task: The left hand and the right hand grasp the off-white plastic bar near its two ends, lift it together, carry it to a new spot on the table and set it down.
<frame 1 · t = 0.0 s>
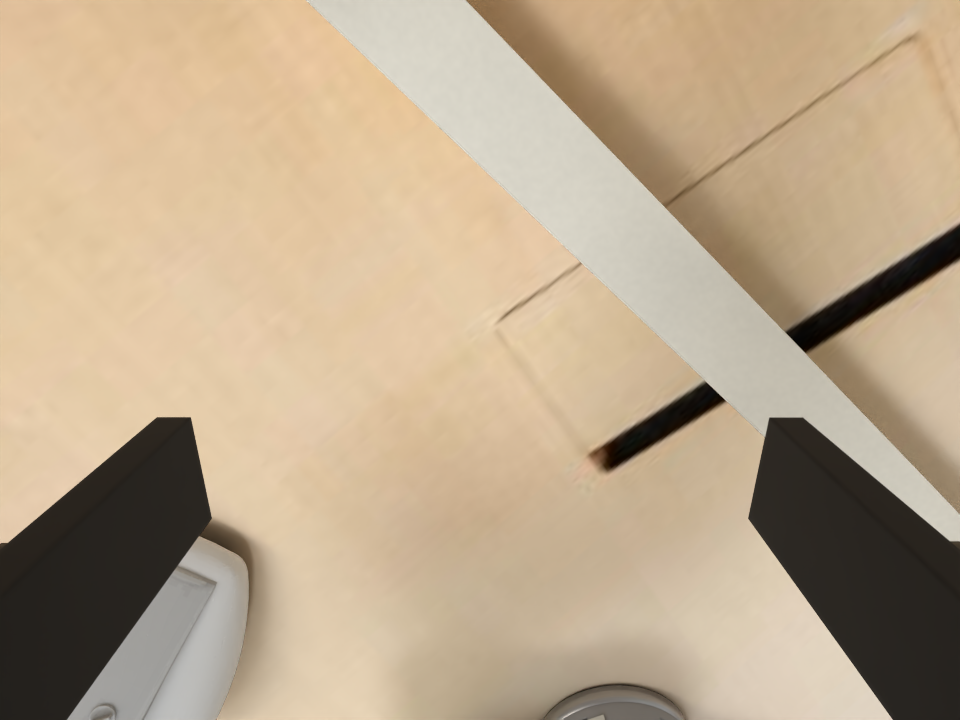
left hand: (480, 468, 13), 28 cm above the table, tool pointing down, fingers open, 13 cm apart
bar: (694, 315, 41), on the table
projector: (166, 616, 51), on the table
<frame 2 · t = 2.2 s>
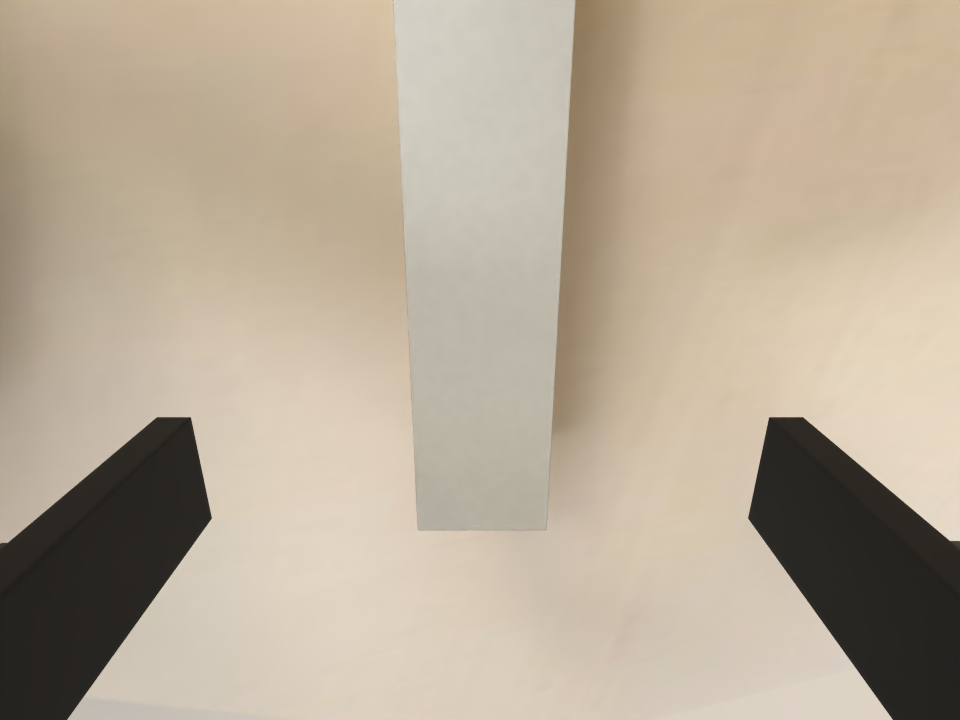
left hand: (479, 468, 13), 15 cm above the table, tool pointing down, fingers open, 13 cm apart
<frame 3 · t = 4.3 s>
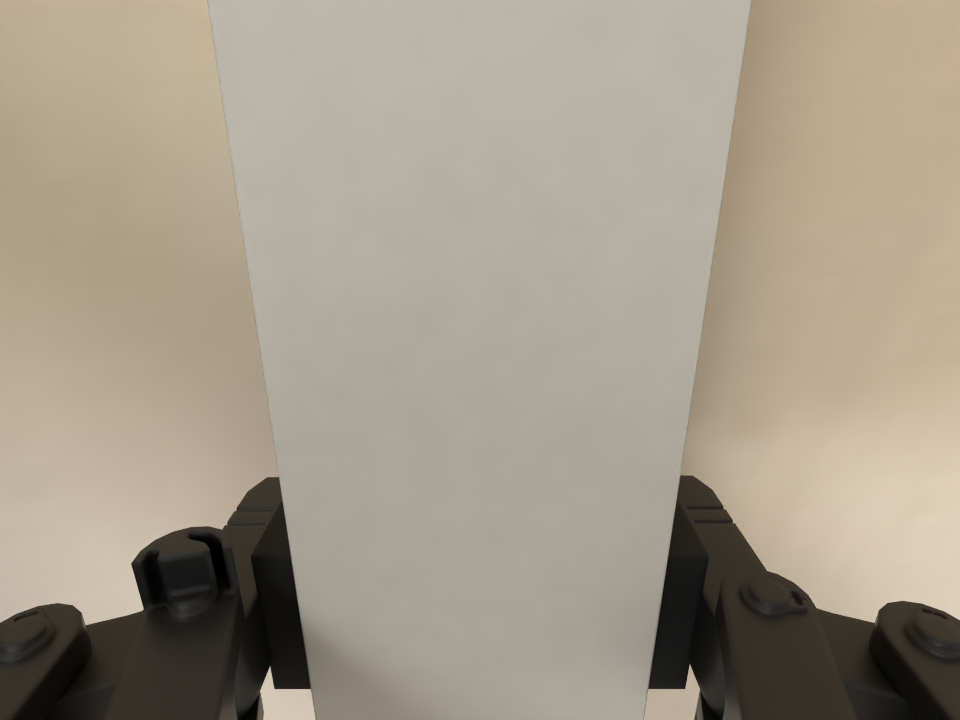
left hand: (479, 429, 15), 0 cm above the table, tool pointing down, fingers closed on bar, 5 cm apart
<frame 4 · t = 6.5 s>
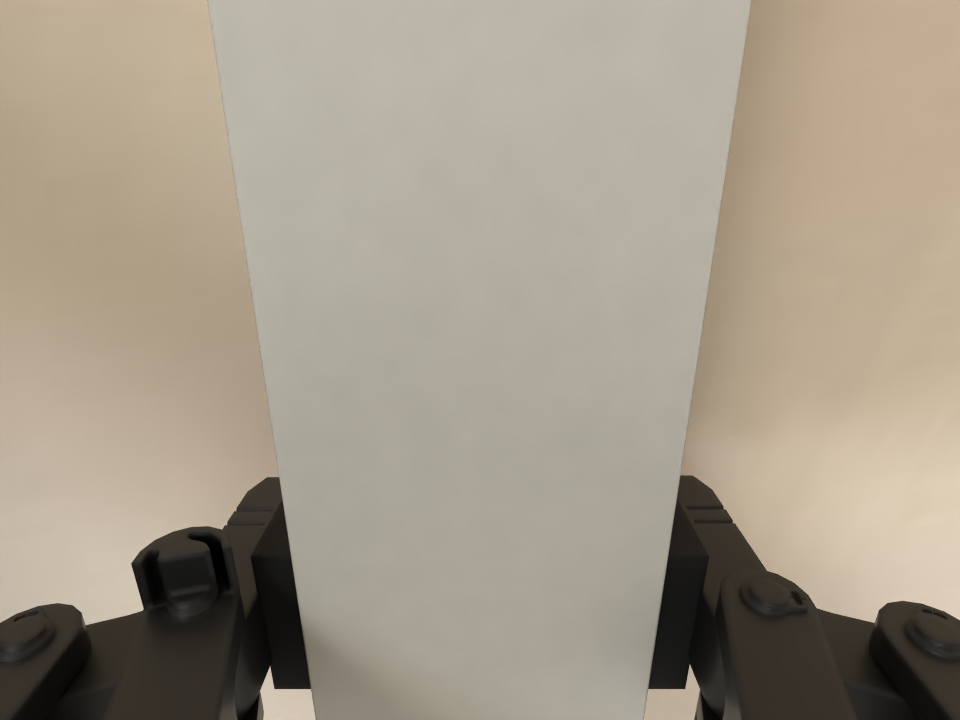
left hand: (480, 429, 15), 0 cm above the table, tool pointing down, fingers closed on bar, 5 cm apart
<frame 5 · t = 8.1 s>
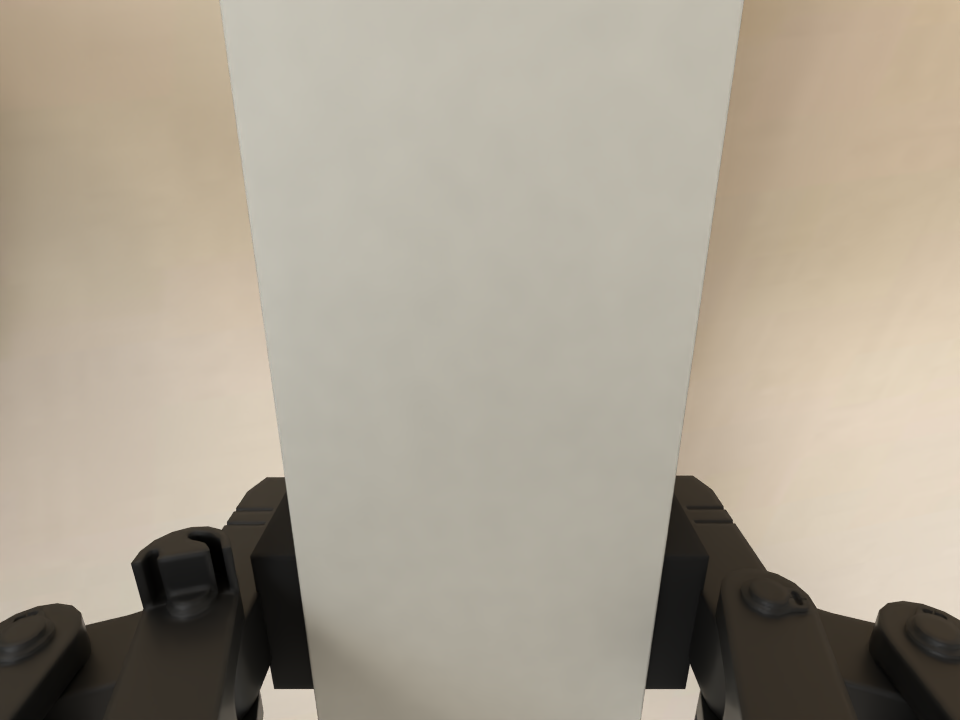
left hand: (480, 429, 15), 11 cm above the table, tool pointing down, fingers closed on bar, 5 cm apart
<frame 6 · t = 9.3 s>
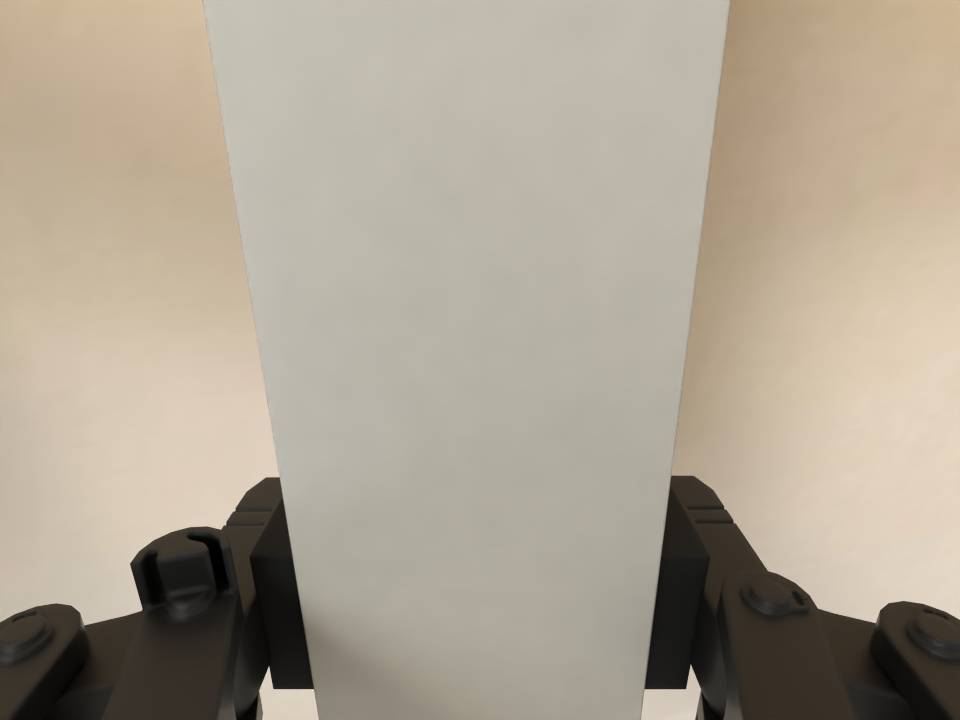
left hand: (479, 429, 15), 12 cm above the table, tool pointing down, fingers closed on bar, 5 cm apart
when the left hand's fingers open (2 cm above the table, at t = 12.2 s): bar stays where it is, on the table.
when the right hand's fingers open (4 cm above the table, at t = 12.3 s): bar stays where it is, on the table.
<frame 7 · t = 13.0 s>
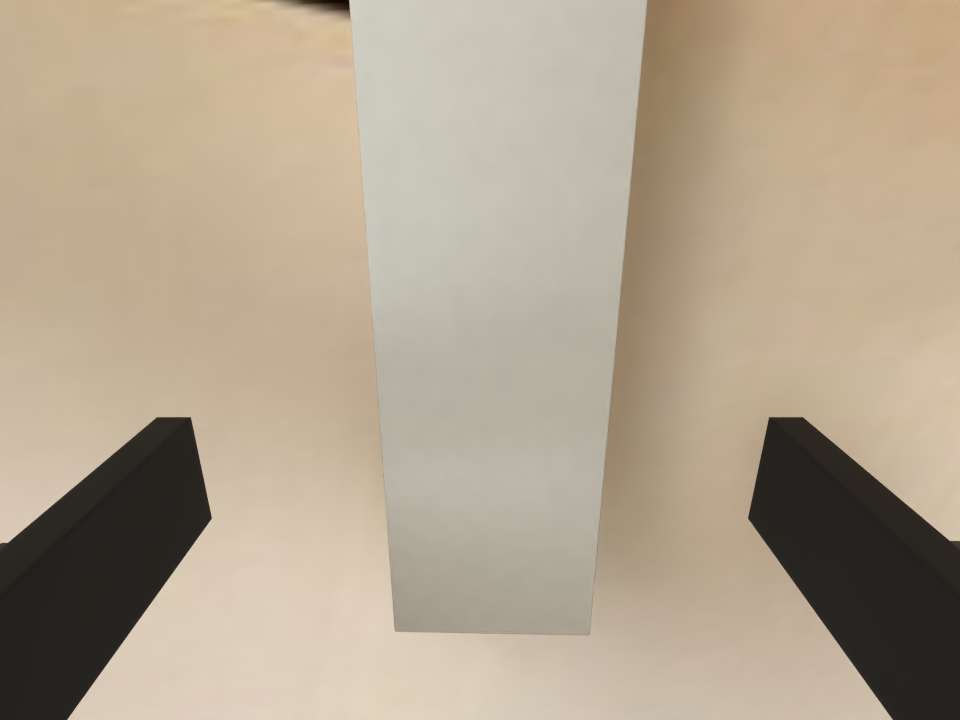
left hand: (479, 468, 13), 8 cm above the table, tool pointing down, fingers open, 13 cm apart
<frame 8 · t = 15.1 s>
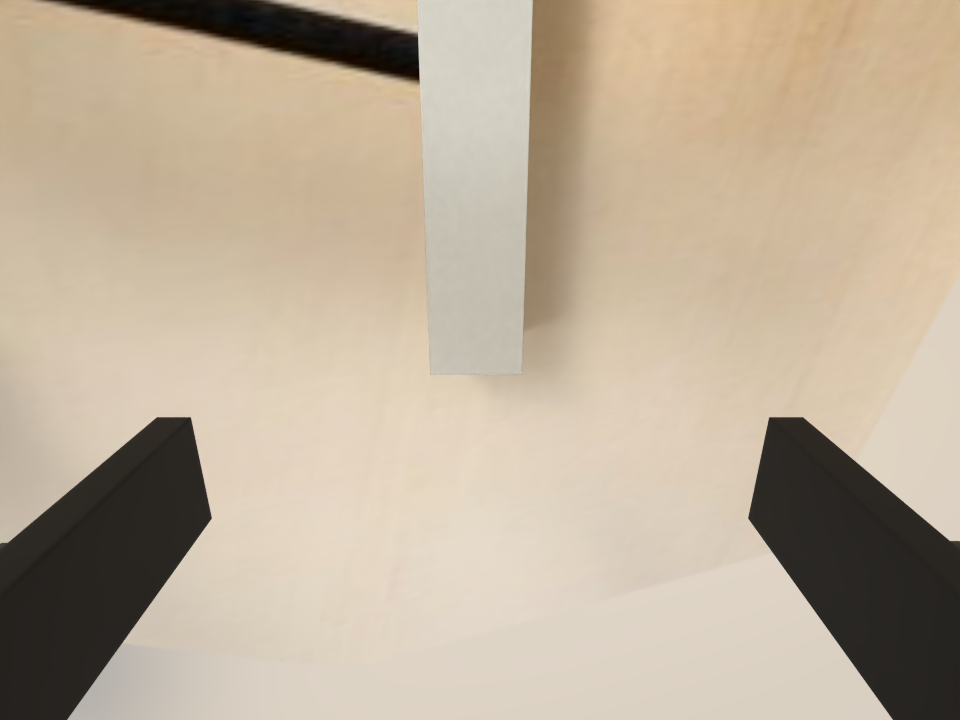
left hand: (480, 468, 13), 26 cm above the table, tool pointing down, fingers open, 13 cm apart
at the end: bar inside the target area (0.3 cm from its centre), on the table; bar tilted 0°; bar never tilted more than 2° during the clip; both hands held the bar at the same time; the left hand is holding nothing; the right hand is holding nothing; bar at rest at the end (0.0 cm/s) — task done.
